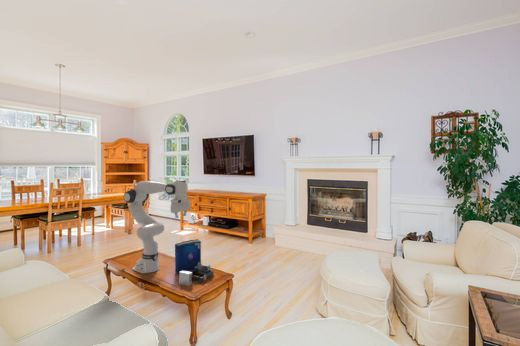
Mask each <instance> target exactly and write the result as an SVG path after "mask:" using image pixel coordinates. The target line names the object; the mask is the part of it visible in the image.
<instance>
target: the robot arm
mask: <svg viewBox="0 0 520 346" xmlns="http://www.w3.org/2000/svg"><path fill="white" fill-rule="evenodd" d="M187 191H188V183H187V181H186V179H176V180H175V181H173V182H169V183H162V182H157V181H152V180H151V181H150V180H141V181H138V182H136V185H135V188H130V189H128V190H127V191H126V192H124V194H123V199H124V202H125V203H127V204H129V205H128V209H129V212H130V215H131V216H132V218H133V219H134V220H135V222H136V224H138V225H140V227H138V228H137V230H136V235H137V237H138V239H140V240H141V241H142V244H143V245H142V246H143V253H141V258H139V259H138V260H137V261H136V262H135V266H133V267H132V271H135V272H138V273H140V274H147V273H154V272H157V271H159V270H160V265H159V251H158V250H159V249H158V248H159V247H158V246H159V245H158V242H157V241H156V240H155V239H154V237H157V236H159V235H161V234H162V233H164V231H165V225H164V223H163V222H161V221H157V220H156V219H154V218H153V217H152V216H151V215H150V214H149V213H148V212H147V210H146V208H145V207H144V206H143V204H145V203H146V201H148V199H149V197H150V195H153V194H158V193H162V192H163V193H164V192H165V193H166V194H167V195H168V196H174V198H172V199H170V213H171V214H174V216H175V219H178V218H179V215H178V213H180V212H183V214H182V216H183V217H186V216H187V213H188V211H190V209H191V202H190V199H189V198H188V195H187Z"/></svg>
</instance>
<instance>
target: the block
mask: <svg viewBox="0 0 520 346" xmlns="http://www.w3.org/2000/svg"><path fill="white" fill-rule="evenodd" d="M192 272H193V271H191V272H189V271H184V270H182V271H180V272H179V274H178V284H179V285H183V286H187V287H190V286H192V285H193V281H192Z"/></svg>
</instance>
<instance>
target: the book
mask: <svg viewBox="0 0 520 346" xmlns="http://www.w3.org/2000/svg"><path fill="white" fill-rule="evenodd" d="M201 246H202V241H201V240H200V239H189V240H185V241H184V240H183V241H181V242H178V243H175V244H174V258H175V259H174V263H175V264H174V265H175V267H174V269H175V273H176V274H178V275H179V272H180V271H182V270H184V271H189V272H194V271H196V270H197V269H198V264H200V263H202V252H201V251H202V249H201V248H202V247H201Z"/></svg>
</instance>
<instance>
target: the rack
mask: <svg viewBox="0 0 520 346" xmlns="http://www.w3.org/2000/svg"><path fill="white" fill-rule="evenodd" d="M191 272H192V282H195V283H199V284H203V283H205V282H206V281H207V280H209V279H210V278H212V277H214V274H215V273H214V272H215V271H214V270H213V269H211V264H209V263H204V262H203V263H202V262H201V263H200V264H198V269H197V270H195V271H191ZM211 276H212V277H211Z"/></svg>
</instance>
